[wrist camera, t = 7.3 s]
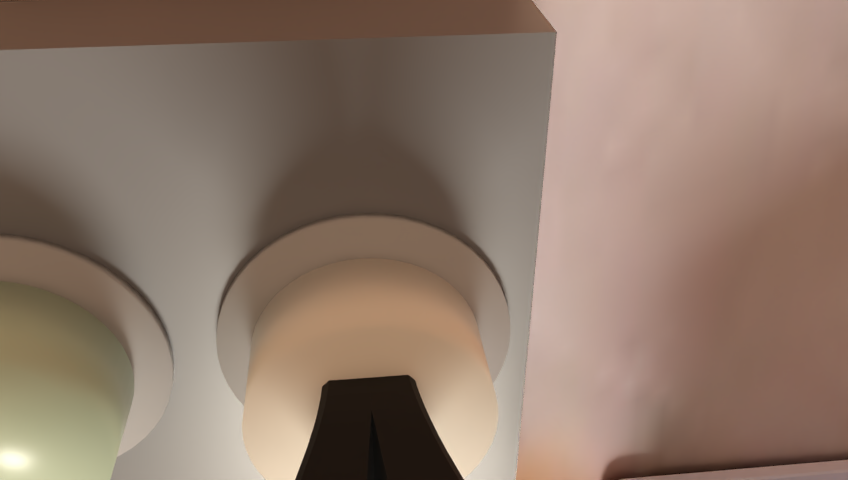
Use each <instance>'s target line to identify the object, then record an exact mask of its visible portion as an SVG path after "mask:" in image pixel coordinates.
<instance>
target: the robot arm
mask: <svg viewBox="0 0 848 480" xmlns="http://www.w3.org/2000/svg"><path fill="white" fill-rule="evenodd" d="M295 480H464V479H463V477H462V475H461V474H460V472H459V470H458V469H457V467H456V465H455V464H454V462H453V460H452V458H451V457H450V455H449V453H448V452H447V450H446V448H445V446H444V444H443V442H442V441H441V439H440V437H439V435H438V433H437V431H436V429H435V427H434V425H433V423H432V421H431V419H430V417H429V414H428V412H427V410H426V408H425V405H424V403H423V401H422V398H421V396H420V393H419V390H418V387H417V384H416V381H415V380H414V379H413V378H412V377H411V376H409V375H398V376H385V377H371V378H357V379H343V380H329V381H328V382H327V383H326V384H324V385H323V386H322V391H321V398H320V403H319V408H318V412H317V416H316V420H315V424H314V427H313V430H312V433H311V437H310V440H309V443H308V446H307V449H306V452H305V454H304V457H303V460H302V462H301V465H300V468H299V470H298V473H297V476H296V478H295ZM620 480H848V460H838V461H826V462H814V463H803V464H791V465H779V466H767V467H756V468H744V469H732V470H720V471H709V472H697V473H685V474H673V475H662V476H650V477H638V478H626V479H620Z"/></svg>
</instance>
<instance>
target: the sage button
mask: <svg viewBox="0 0 848 480" xmlns="http://www.w3.org/2000/svg"><path fill="white" fill-rule="evenodd" d="M133 396H134V375H133V369H132V366H131V363H130V360H129V358H128V356H127V354H126V352H125V350H124V348H123V346H122V345H121V344H120V342H119V341H118V339H117V338H116V337H115V335H114V334H113V333H112V332H111V331H110V330H109V329H108V328H107V327H106V326H105V325H104V324H103V323H102V322H101V321H100V320H98V319H97V318H96V317H95V316H94V315H92V314H91V313H89V312H88V311H86V310H85V309H83V308H82V307H80V306H79V305H77V304H75V303H73V302H71V301H69V300H67V299H66V298H64V297H61V296H59V295H56V294H54V293H51V292H49V291H46V290H43V289H39V288H36V287H32V286H29V285H24V284H18V283H13V282H4V281H0V480H110V479H111V476H112V472H113V469H114V465H115V462H116V458H117V455H118V451H119V447H120V444H121V440H122V437H123V433H124V430H125V426H126V423H127V419H128V416H129V412H130V409H131V405H132V401H133Z"/></svg>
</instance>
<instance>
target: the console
mask: <svg viewBox="0 0 848 480" xmlns="http://www.w3.org/2000/svg"><path fill="white" fill-rule="evenodd" d="M556 33H557V32H556V31H555V29H554V28H553V27H552V26H551V24H550V23H549V22H548V21H547V19H546V18H545V17H544V15H543V14H542V13H541V12H540V10H539V9H538V8H537V7H536V5H535V4H534V3H533V1H532V0H18V1H0V281H4V282H13V283H18V284H24V285H29V286H32V287H36V288H39V289H43V290H46V291H49V292H51V293H54V294H56V295H59V296H61V297H64V298H66V299H67V300H69V301H71V302H73V303H75V304H77V305H79V306H80V307H82V308H83V309H85V310H86V311H88V312H89V313H91V314H92V315H94V316H95V317H96V318H97V319H98V320H100V321H101V322H102V323H103V324H104V325H105V326H106V327H107V328H108V329H109V330H110V331H111V332H112V333H113V334H114V335H115V337H116V338H117V339H118V341H119V342H120V344H121V345H122V346H123V348H124V350H125V352H126V354H127V356H128V358H129V360H130V363H131V366H132V369H133V375H134V396H133V401H132V405H131V409H130V412H129V416H128V419H127V423H126V426H125V430H124V433H123V437H122V440H121V444H120V447H119V451H118V455H117V458H116V462H115V465H114V469H113V472H112V476H111V479H110V480H266V479H265V478H264V477H263V476H262V475H261V474H260V473H259V472H258V471H257V469H256V468H255V466H254V465H253V463H252V462H251V460H250V458H249V455H248V453H247V451H246V448H245V444H244V441H243V434H242V420H243V411H244V403H245V394H246V385H247V377H248V368H249V359H250V350H251V342H252V336H253V332H254V329H255V326H256V323H257V321H258V319H259V317H260V315H261V313H262V312H263V310H264V309H265V307H266V306H267V305H268V303H269V302H270V301H271V300H272V299H273V298H274V297H275V295H276V294H277V293H278V292H280V291H281V290H282V289H283V288H284V287H286V286H287V285H288V284H289V283H291V282H292V281H294V280H295V279H297V278H299V277H300V276H302V275H304V274H306V273H308V272H310V271H312V270H314V269H317V268H319V267H322V266H325V265H328V264H331V263H336V262H340V261H345V260H352V259H361V258H381V259H390V260H397V261H401V262H406V263H410V264H413V265H416V266H419V267H421V268H424V269H426V270H428V271H430V272H432V273H434V274H436V275H438V276H439V277H441V278H442V279H444V280H445V281H447V282H448V283H449V284H450V285H452V286H453V287H454V288H455V289H456V290H457V291H458V292H459V293H460V294H461V295H462V297H463V298H464V299H465V300H466V302H467V303H468V305H469V307H470V308H471V310H472V312H473V314H474V317H475V320H476V322H477V326H478V329H479V333H480V337H481V341H482V344H483V348H484V352H485V356H486V360H487V363H488V367H489V371H490V375H491V379H492V382H493V386H494V390H495V394H496V399H497V404H498V423H497V429H496V433H495V436H494V439H493V442H492V444H491V446H490V448H489V449H488V451H487V453H486V455H485V456H484V457H483V459H482V460H481V462H480V463H479V464H478V465H477V466H476V467H475V469H474V470H473V471H472V472H471V473H470V474H469V475H468V476H466V477H465V478H464V480H516V471H517V460H518V450H519V439H520V428H521V417H522V406H523V395H524V384H525V373H526V362H527V351H528V340H529V329H530V318H531V307H532V296H533V285H534V274H535V263H536V252H537V241H538V230H539V220H540V209H541V198H542V187H543V176H544V165H545V154H546V143H547V132H548V121H549V110H550V99H551V88H552V77H553V66H554V55H555V44H556Z"/></svg>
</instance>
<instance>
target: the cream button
mask: <svg viewBox="0 0 848 480" xmlns="http://www.w3.org/2000/svg"><path fill="white" fill-rule="evenodd" d="M398 375H409V376H411V377H412V378H413V379H414V380H415V381H416V384H417V387H418V390H419V393H420V396H421V398H422V401H423V403H424V405H425V408H426V410H427V412H428V414H429V417H430V419H431V421H432V423H433V425H434V427H435V429H436V431H437V433H438V435H439V437H440V439H441V441H442V442H443V444H444V446H445V448H446V450H447V452H448V453H449V455H450V457H451V458H452V460H453V462H454V464H455V465H456V467H457V469H458V470H459V472H460V474H461V475H462V477H463V479H464V478H465V477H466V476H468V475H469V474H470V473H471V472H472V471H473V470H474V469H475V467H476V466H477V465H478V464H479V463H480V462H481V460H482V459H483V457H484V456H485V455H486V453H487V451H488V449H489V448H490V446H491V444H492V442H493V439H494V436H495V433H496V429H497V423H498V404H497V399H496V394H495V390H494V386H493V382H492V379H491V375H490V371H489V367H488V363H487V360H486V356H485V352H484V348H483V344H482V341H481V337H480V333H479V329H478V326H477V322H476V320H475V317H474V314H473V312H472V310H471V308H470V307H469V305H468V303H467V302H466V300H465V299H464V298H463V297H462V295H461V294H460V293H459V292H458V291H457V290H456V289H455V288H454V287H453V286H452V285H450V284H449V283H448V282H447V281H445V280H444V279H442V278H441V277H439V276H438V275H436V274H434V273H432V272H430V271H428V270H426V269H424V268H421V267H419V266H416V265H413V264H410V263H406V262H401V261H397V260H390V259H381V258H361V259H352V260H345V261H340V262H336V263H331V264H328V265H325V266H322V267H319V268H317V269H314V270H312V271H310V272H308V273H306V274H304V275H302V276H300V277H299V278H297V279H295V280H294V281H292V282H291V283H289V284H288V285H287V286H286V287H284V288H283V289H282V290H281V291H280V292H278V293H277V294H276V295H275V297H274V298H273V299H272V300H271V301H270V302H269V303H268V305H267V306H266V307H265V309H264V310H263V312H262V313H261V315H260V317H259V319H258V321H257V323H256V326H255V329H254V332H253V336H252V342H251V350H250V359H249V368H248V377H247V385H246V394H245V403H244V411H243V420H242V434H243V441H244V444H245V448H246V451H247V453H248V455H249V458H250V460H251V462H252V463H253V465H254V466H255V468H256V469H257V471H258V472H259V473H260V474H261V475H262V476H263V477H264V478H265V479H266V480H295V478H296V476H297V473H298V470H299V468H300V465H301V462H302V460H303V457H304V454H305V452H306V449H307V446H308V443H309V440H310V437H311V433H312V430H313V427H314V424H315V420H316V416H317V412H318V408H319V403H320V398H321V391H322V386H323V385H324V384H326V383H327V382H328V381H329V380H343V379H357V378H371V377H385V376H398Z"/></svg>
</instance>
